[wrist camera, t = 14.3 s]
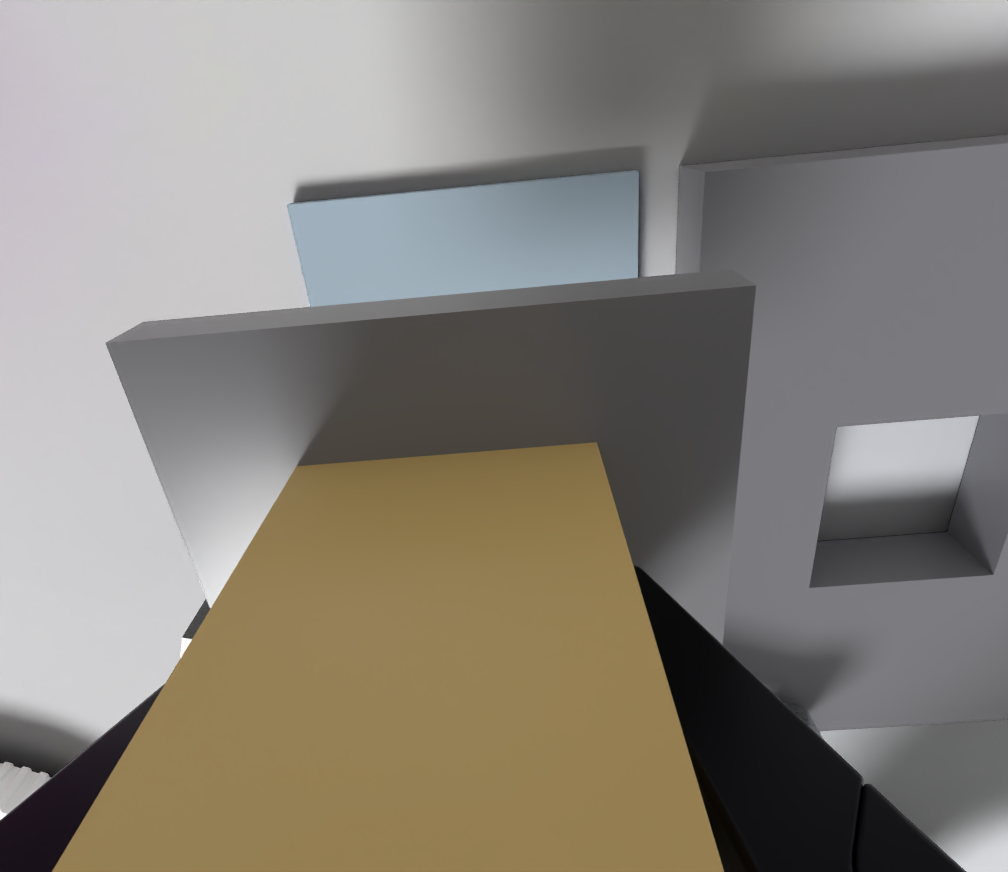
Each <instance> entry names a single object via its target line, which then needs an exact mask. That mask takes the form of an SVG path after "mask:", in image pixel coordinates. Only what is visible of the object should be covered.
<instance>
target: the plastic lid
mask: <svg viewBox="0 0 1008 872" xmlns="http://www.w3.org/2000/svg"><path fill="white" fill-rule="evenodd" d="M50 778H51V777H49V774H47V773H44V772H40V773H36V772H33V771H32V770H31V768H28V767H24V766H23V767H22V768H18V767H15V766H14V765H13V764H12V763H8V762H4V764H1V763H0V820H1V819H2V818H3V817H4V816H6V815H7V814H8V813H9V812H10V811H12V810H13V809H14V808H15V807H17V806H18V805H19V804H20V803H21V802H23V801H24V800H25V799H26V798H27V797H29V796H30V795H31V794H32V793H33V792H35V791H36V790H37V789H38V788H40V787H41V786H42V785H43V784H44V783H46V782H47V781H48V780H49V779H50Z"/></svg>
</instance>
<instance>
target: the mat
mask: <svg viewBox="0 0 1008 872" xmlns="http://www.w3.org/2000/svg"><path fill="white" fill-rule="evenodd" d="M287 208H288V212H289V216H290V221H291V225H292V229H293V234H294V238H295V242H296V247H297V251H298V255H299V259H300V264H301V268H302V272H303V277H304V281H305V285H306V289H307V294H308V298H309V302H310V307H317V306H328V305H339V304H350V303H361V302H372V301H384V300H395V299H406V298H417V297H428V296H439V295H450V294H462V293H473V292H484V291H495V290H506V289H517V288H529V287H540V286H551V285H562V284H573V283H584V282H596V281H607V280H618V279H629V278H638V210H639V171H637V170H631V171H620V172H610V173H599V174H589V175H578V176H568V177H558V178H547V179H537V180H526V181H516V182H505V183H495V184H484V185H474V186H464V187H453V188H443V189H432V190H422V191H411V192H401V193H390V194H380V195H370V196H359V197H349V198H338V199H328V200H317V201H307V202H296V203H291V204H288V205H287Z"/></svg>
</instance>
